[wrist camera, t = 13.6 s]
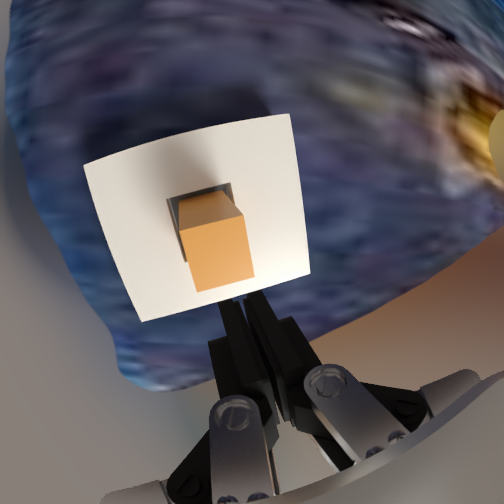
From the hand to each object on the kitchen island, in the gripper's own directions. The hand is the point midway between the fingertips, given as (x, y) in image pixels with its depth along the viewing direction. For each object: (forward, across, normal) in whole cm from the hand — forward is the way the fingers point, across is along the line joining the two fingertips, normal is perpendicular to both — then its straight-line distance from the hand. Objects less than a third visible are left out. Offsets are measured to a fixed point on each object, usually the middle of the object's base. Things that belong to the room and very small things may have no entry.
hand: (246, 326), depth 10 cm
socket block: (+19, 0, +1) cm, 19 cm away
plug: (+18, 0, +1) cm, 18 cm away
